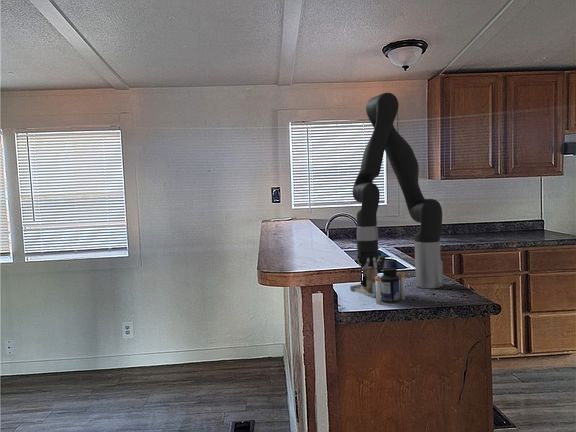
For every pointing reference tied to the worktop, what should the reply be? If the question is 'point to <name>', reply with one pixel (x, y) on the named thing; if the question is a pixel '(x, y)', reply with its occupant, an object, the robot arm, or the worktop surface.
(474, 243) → the worktop surface
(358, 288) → the rail
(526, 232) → the worktop surface
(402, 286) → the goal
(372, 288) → the kicker
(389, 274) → the pill bottle
